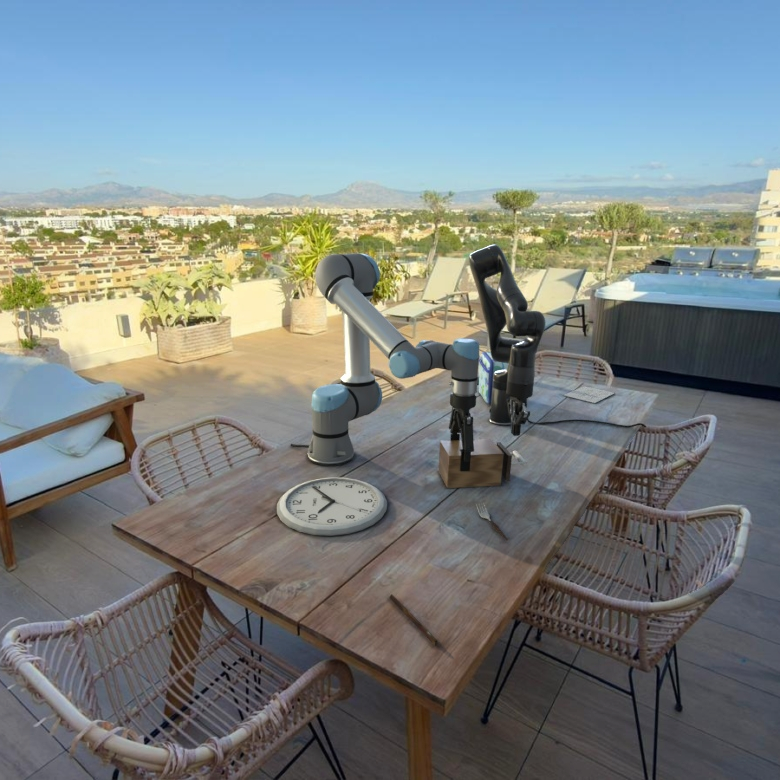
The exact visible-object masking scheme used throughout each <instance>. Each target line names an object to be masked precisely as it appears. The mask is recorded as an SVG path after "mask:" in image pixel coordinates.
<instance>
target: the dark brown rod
mask: <svg viewBox="0 0 780 780" xmlns="http://www.w3.org/2000/svg"><path fill="white" fill-rule="evenodd" d="M389 599H390V600H391V601H392V603H394V605H396V607H398V609H399V610H400V611H401V612H402V613H403V614H404V615H405V616H406V617H407V618H408V619H409V620H410V621H411V622H412V623H413V624H414V625H415V627H417V628H418V630H420V631H421V633H423V635H424V636H425V637H426V638H427V639H428V640H429V641H430V642H431V643H432V644H433V645H434V646H437V644H438V640H437V639H436V638H435V637H434V635H433V634H431V633H430V632H429V630H428V629H427V628H426V627H425V626H424V625H423V624H421V622H420V621H419V620H418V619H417V618H416V617H415V616H414V615H413V614H412V613H411V612H410V611H409V610H408V609H407V608H406V607H405V606H404V605H403V604H402V603H401V602H400V601H399V599H397V598H396V596H394V595H393V594H392V593H391V594H390V595H389Z"/></svg>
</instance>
